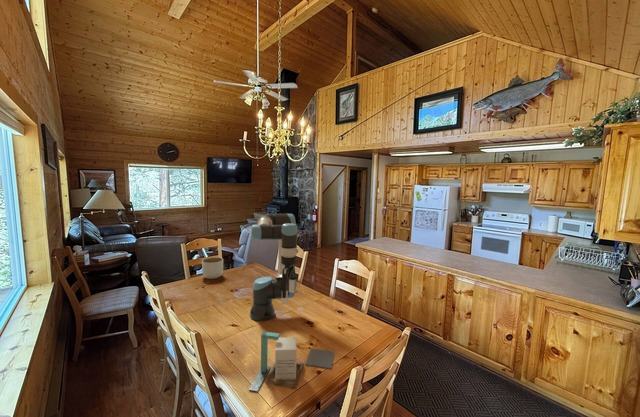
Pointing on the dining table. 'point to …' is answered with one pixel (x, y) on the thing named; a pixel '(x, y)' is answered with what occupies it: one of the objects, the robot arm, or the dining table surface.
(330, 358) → the coaster
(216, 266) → the planter
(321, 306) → the dining table surface
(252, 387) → the rail
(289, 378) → the supplement box
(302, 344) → the dining table surface
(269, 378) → the frame
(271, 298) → the robot arm
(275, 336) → the teal bent bar
